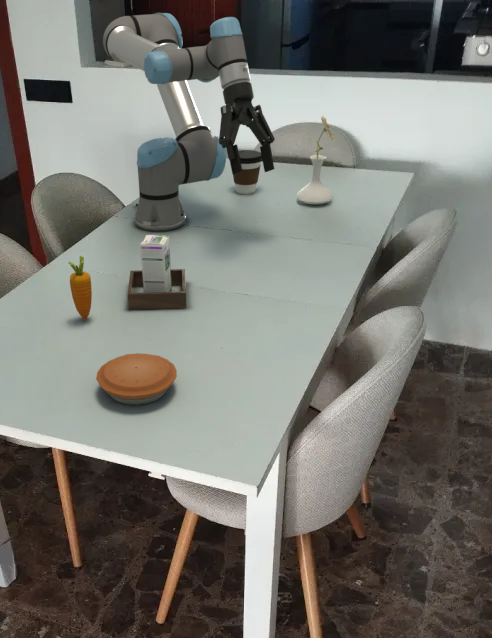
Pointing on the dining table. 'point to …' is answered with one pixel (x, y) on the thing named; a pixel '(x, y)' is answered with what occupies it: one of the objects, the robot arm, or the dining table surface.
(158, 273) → the syrup box
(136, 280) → the wooden frame
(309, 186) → the flower in vase
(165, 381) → the pie
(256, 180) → the coffee cup
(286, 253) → the dining table surface
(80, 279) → the carrot
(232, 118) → the robot arm
